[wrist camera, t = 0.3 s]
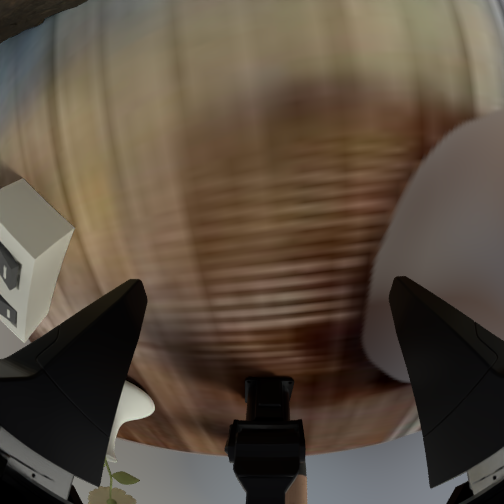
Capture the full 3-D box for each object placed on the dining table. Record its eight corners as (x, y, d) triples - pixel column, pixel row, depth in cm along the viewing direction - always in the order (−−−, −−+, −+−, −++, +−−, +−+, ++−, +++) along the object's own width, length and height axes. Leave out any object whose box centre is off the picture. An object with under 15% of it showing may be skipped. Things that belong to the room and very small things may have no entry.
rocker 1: (18, 265, 18) (10, 269, 17) (16, 286, 20) (9, 291, 19) (-5, 225, 18) (-13, 228, 17) (-7, 248, 19) (-14, 251, 18)
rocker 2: (18, 305, 23) (15, 311, 22) (18, 319, 24) (15, 325, 23) (-15, 280, 20) (-18, 286, 19) (-14, 296, 22) (-17, 302, 21)
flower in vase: (96, 387, 40) (53, 494, 18) (98, 359, 35) (40, 491, 13) (158, 416, 42) (130, 528, 20) (173, 394, 37) (139, 535, 15)
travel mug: (293, 449, 47) (295, 527, 29) (261, 446, 46) (258, 527, 28) (311, 438, 44) (316, 524, 26) (277, 434, 43) (275, 526, 25)
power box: (74, 227, 24) (35, 259, 18) (48, 313, 31) (24, 343, 25) (4, 157, 20) (-36, 174, 14) (-10, 253, 27) (-37, 275, 21)
